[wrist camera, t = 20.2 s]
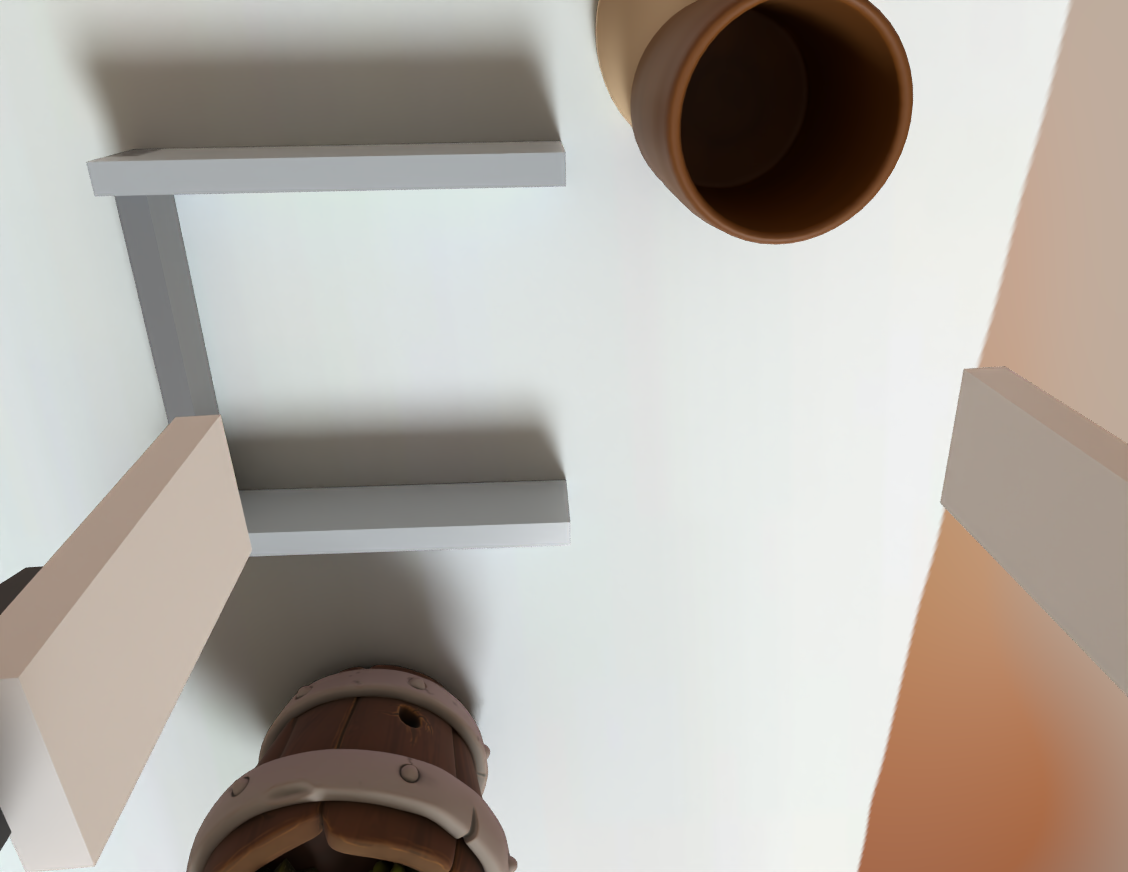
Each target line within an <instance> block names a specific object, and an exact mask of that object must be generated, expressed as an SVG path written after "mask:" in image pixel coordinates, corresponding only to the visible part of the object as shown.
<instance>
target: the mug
mask: <svg viewBox="0 0 1128 872" xmlns="http://www.w3.org/2000/svg"><path fill="white" fill-rule="evenodd" d="M912 106H913V84H912V77H911V70H910V66H909V62H908V58H907V55H906V52H905V49H904V47H903V45H902V42H901V40H900V38H899V36H898V34H897V33H896V31H895V29H894V28H893V26H892V25H891V23H890V22H889V20H888V19H887V18H886V17H885V16H884V15H883V14H882V12H881V11H880V10H879V9H878V8H877V7H875V6H874V5H873V4H872V3H871V2H870V1H868V0H697V1H695V2H693V3H692V4H690V5H688V6H686V7H684V8H683V9H682V10H680V11H679V12H677V13H676V14H675V15H673V16H672V17H671V18H670V19H669V20H668V21H667V22H666V23H665V24H664V25H662V27H661V28H660V29H659V30H658V31H657V33H656V34H655V35H654V36H653V38H652V39H651V41H650V42H649V44H648V45H647V47H646V49H645V51H644V53H643V55H642V57H641V59H640V61H639V63H638V66H637V69H636V72H635V75H634V80H633V84H632V90H631V100H630V109H631V121H632V128H633V132H634V135H635V139H636V142H637V144H638V147H639V149H640V151H641V154H642V156H643V157H644V159H645V161H646V163H647V164H648V166H649V167H650V168H651V170H652V171H653V172H654V173H655V175H656V176H657V177H658V178H659V179H660V180H661V181H662V182H663V183H664V185H665V186H666V187H667V188H668V189H669V190H670V191H671V192H672V193H673V194H674V195H675V196H676V197H677V198H678V199H679V200H680V201H681V202H682V203H683V204H684V205H685V206H686V207H687V208H688V209H689V210H690V211H691V212H692V213H694V214H695V215H696V216H698V217H699V218H701V219H702V220H703V221H705V222H706V223H708V224H710V225H712V226H714V227H716V228H718V229H720V230H722V231H724V232H726V233H727V234H729V235H731V236H734V237H737V238H740V239H743V240H745V241H750V242H755V243H760V244H788V243H795V242H800V241H805V240H808V239H811V238H814V237H817V236H820V235H822V234H824V233H826V232H828V231H830V230H833V229H835V228H836V227H838V226H839V225H841V224H843V223H844V222H846V221H847V220H849V219H850V218H852V217H853V216H854V215H855V214H857V213H858V212H859V211H860V210H862V209H863V208H864V207H865V206H866V205H867V204H868V203H869V202H870V201H871V200H872V199H873V197H874V196H875V195H876V194H877V193H878V191H879V190H880V189H881V187H882V186H883V185H884V184H885V182H886V181H887V179H888V177H889V176H890V174H891V173H892V171H893V169H894V167H895V165H896V163H897V161H898V159H899V157H900V155H901V153H902V150H903V147H904V144H905V142H906V139H907V135H908V131H909V126H910V122H911V115H912Z"/></svg>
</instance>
